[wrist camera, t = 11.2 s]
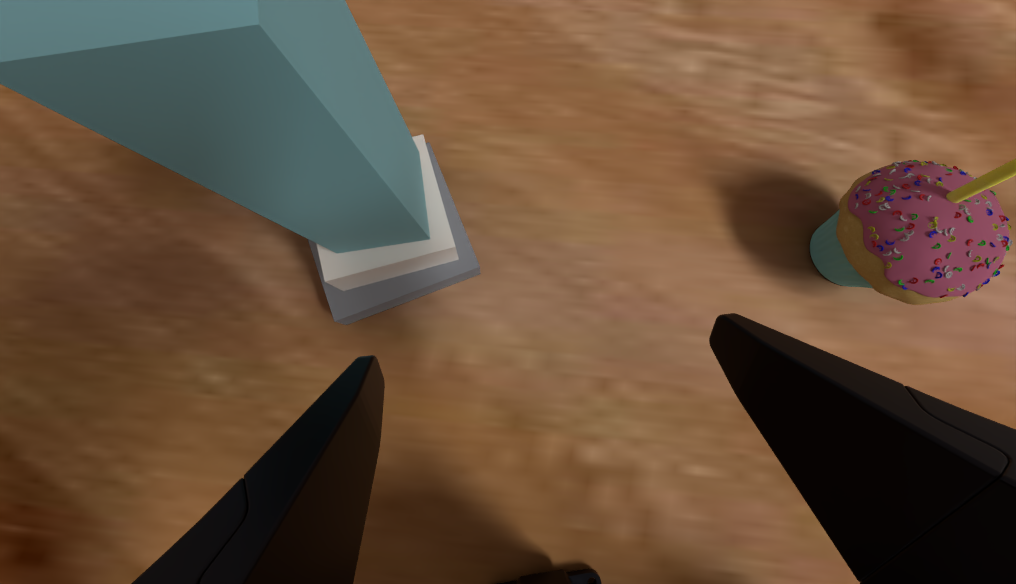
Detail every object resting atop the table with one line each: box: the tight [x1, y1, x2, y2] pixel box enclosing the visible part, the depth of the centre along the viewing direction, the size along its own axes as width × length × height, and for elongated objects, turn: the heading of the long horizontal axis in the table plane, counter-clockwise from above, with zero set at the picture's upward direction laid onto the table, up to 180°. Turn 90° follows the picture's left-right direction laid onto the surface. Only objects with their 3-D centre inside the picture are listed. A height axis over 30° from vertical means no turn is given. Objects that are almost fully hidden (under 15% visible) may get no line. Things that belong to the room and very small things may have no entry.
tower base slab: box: [308, 143, 480, 325], centre depth 23 cm, size 9×9×2 cm
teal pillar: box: [0, 0, 430, 253], centre depth 13 cm, size 5×5×13 cm
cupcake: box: [810, 159, 1016, 305], centre depth 20 cm, size 9×8×12 cm
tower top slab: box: [316, 135, 459, 291], centre depth 21 cm, size 7×7×2 cm
